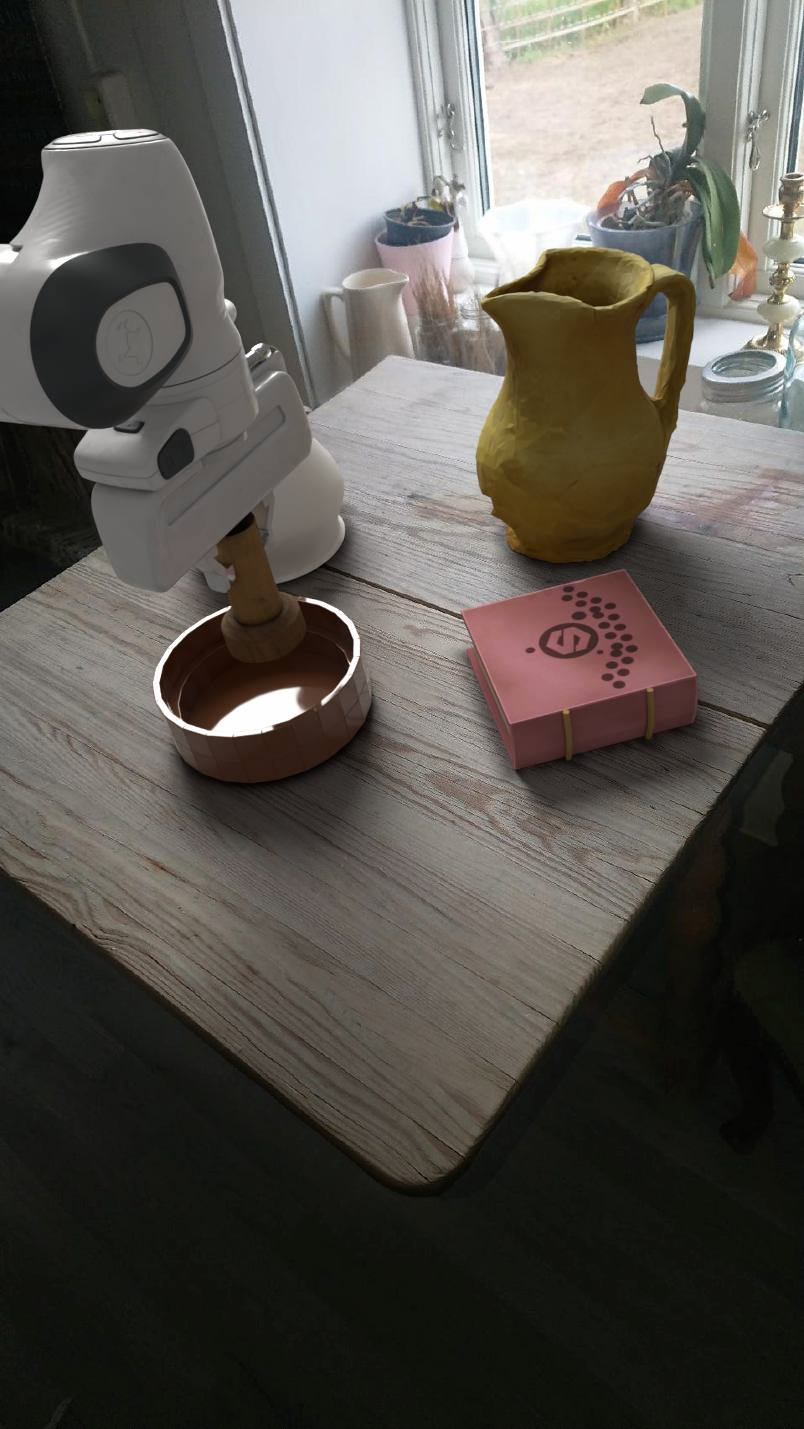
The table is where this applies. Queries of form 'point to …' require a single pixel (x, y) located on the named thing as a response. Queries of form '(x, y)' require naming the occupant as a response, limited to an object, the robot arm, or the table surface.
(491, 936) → the table surface
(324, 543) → the vase
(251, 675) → the bowl
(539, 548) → the pitcher
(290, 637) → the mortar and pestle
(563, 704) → the book
